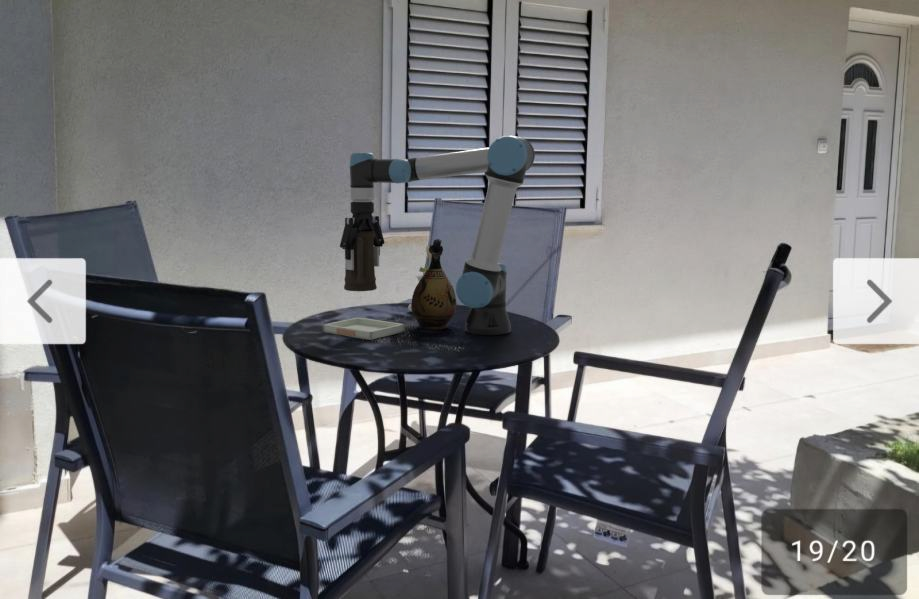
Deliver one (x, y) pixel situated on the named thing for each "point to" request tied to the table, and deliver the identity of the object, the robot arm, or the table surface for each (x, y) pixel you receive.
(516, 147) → the robot arm
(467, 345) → the table surface
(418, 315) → the ceramic jug
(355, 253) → the beer stein
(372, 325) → the tray
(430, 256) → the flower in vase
